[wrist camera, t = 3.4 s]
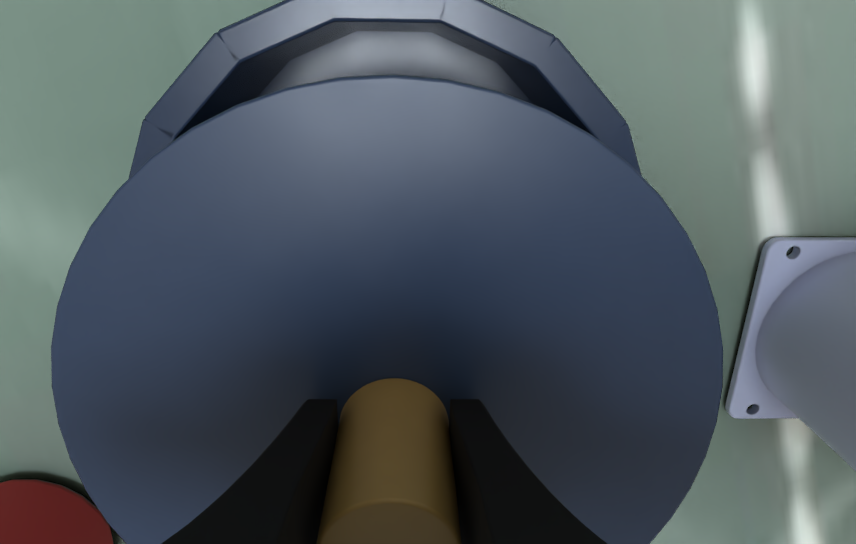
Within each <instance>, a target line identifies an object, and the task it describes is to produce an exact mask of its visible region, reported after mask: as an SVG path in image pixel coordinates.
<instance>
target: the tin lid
mask: <svg viewBox="0 0 856 544" xmlns="http://www.w3.org/2000/svg"><path fill="white" fill-rule="evenodd" d="M51 361H52V389H53V395H54V401H55V407H56V412H57V418H58V424H59V427H60V430H61V433H62V436H63V439H64V442H65V445H66V448H67V451H68V454H69V457H70V459H71V461H72V463H73V465H74V467H75V469H76V471H77V473H78V475H79V477H80V479H81V481H82V483H83V485H84V487H85V489H86V491H87V493H88V495H89V496H90V497H91V499H92V500H93V502H94V503H95V505H96V506H97V508H98V509H99V511H100V512H101V514H102V515H103V516H104V518H105V519H106V521H107V522H108V524H109V525H110V526H111V527H112V528H113V529H114V530H115V531H116V533H117V534H118V535H119V536H120V537H121V538H122V539H123V540H124V542H125V543H126V544H161V543H163V542H164V541H166V540H167V539H168V538H170V537H171V536H172V535H174V534H175V533H177V532H178V531H179V530H181V529H182V528H183V527H185V526H186V525H187V524H188V523H190V522H191V521H192V520H193V519H194V518H196V517H197V516H198V515H199V514H200V513H202V512H203V511H204V510H205V509H206V508H207V507H209V506H210V505H211V504H212V503H213V502H214V501H215V500H216V499H217V498H219V497H220V496H221V495H222V494H223V493H224V492H225V491H226V490H227V489H228V488H229V487H230V486H231V485H232V484H233V483H234V482H235V481H236V480H237V479H238V478H239V477H240V476H241V475H242V474H243V473H244V472H245V471H246V470H247V469H248V468H249V467H250V466H251V465H252V464H253V463H254V462H255V461H256V460H257V459H258V457H259V456H260V455H261V454H262V453H263V452H264V451H265V449H266V448H267V447H268V446H269V445H270V444H271V443H272V442H273V440H274V439H275V438H276V437H277V436H278V435H279V433H280V432H281V431H282V430H283V429H284V427H285V426H286V425H287V424H288V422H289V421H290V420H291V419H292V417H293V416H294V415H295V414H296V412H297V411H298V410H299V408H300V407H301V406H302V404H303V403H304V402H306V401H307V400H308V399H337V413H338V432H337V437H336V442H335V448H334V453H333V458H332V463H331V469H330V474H329V479H328V484H327V490H326V495H325V500H324V506H323V511H322V516H321V521H320V527H319V532H318V537H317V543H316V544H462V542H461V532H460V523H459V514H458V504H457V495H456V486H455V476H454V468H453V461H452V452H451V442H450V433H449V418H450V399H479V400H480V401H481V402H482V403H483V404H484V406H485V407H486V409H487V411H488V412H489V414H490V415H491V417H492V419H493V420H494V422H495V423H496V425H497V426H498V428H499V429H500V430H501V432H502V433H503V435H504V436H505V437H506V439H507V440H508V442H509V443H510V444H511V446H512V447H513V448H514V449H515V451H516V452H517V453H518V455H519V456H520V457H521V458H522V460H523V461H524V462H525V463H526V465H527V466H528V467H529V468H530V469H531V471H532V472H533V473H534V474H535V475H536V476H537V478H538V479H539V480H540V481H541V482H542V483H543V484H544V485H545V486H546V488H547V489H548V490H549V491H550V492H551V493H552V494H553V495H554V496H555V497H556V498H557V499H558V500H559V501H560V502H561V503H562V504H563V505H564V506H565V507H566V508H567V509H568V510H569V511H570V512H571V513H572V514H573V515H574V516H575V517H576V518H577V519H578V520H580V521H581V522H582V523H583V524H584V525H585V526H586V527H588V528H589V529H590V530H591V531H592V532H593V533H595V534H596V535H597V536H598V537H600V538H601V539H602V540H604V541H605V542H606V543H607V544H650V543H651V541H652V540H653V539H654V538H655V537H656V535H657V534H658V533H659V532H660V531H661V530H662V528H663V527H664V526H665V525H666V524H667V522H668V521H669V520H670V519H671V517H672V516H673V514H674V513H675V511H676V510H677V508H678V507H679V505H680V504H681V502H682V501H683V499H684V498H685V496H686V494H687V493H688V491H689V490H690V488H691V486H692V484H693V482H694V480H695V478H696V476H697V474H698V471H699V469H700V467H701V465H702V463H703V461H704V459H705V457H706V454H707V451H708V447H709V444H710V441H711V438H712V435H713V432H714V429H715V425H716V422H717V416H718V410H719V404H720V398H721V392H722V379H723V346H722V339H721V332H720V325H719V318H718V311H717V307H716V304H715V300H714V297H713V294H712V291H711V287H710V284H709V281H708V278H707V274H706V271H705V269H704V267H703V265H702V263H701V261H700V259H699V257H698V255H697V253H696V251H695V249H694V247H693V245H692V242H691V240H690V238H689V236H688V234H687V233H686V231H685V230H684V228H683V227H682V225H681V224H680V223H679V221H678V220H677V218H676V217H675V215H674V214H673V213H672V211H671V210H670V208H669V207H668V206H667V204H666V203H665V201H664V200H663V198H662V197H661V196H660V195H659V194H658V193H657V192H656V191H655V190H654V189H653V188H652V187H651V186H650V185H649V184H648V182H647V181H646V180H645V179H644V178H643V177H642V176H641V175H640V174H639V173H638V172H637V171H636V170H635V169H634V168H633V167H632V166H631V165H630V164H629V163H628V162H626V161H625V160H624V159H623V158H621V157H620V156H619V155H617V154H616V153H615V152H613V151H612V150H611V149H610V148H608V147H607V146H606V145H604V144H603V143H602V142H600V141H599V140H598V139H597V138H595V137H594V136H593V135H591V134H589V133H588V132H586V131H584V130H582V129H581V128H579V127H577V126H575V125H573V124H572V123H570V122H568V121H566V120H564V119H563V118H561V117H559V116H557V115H556V114H554V113H552V112H550V111H548V110H546V109H544V108H541V107H538V106H536V105H533V104H531V103H528V102H525V101H523V100H520V99H518V98H515V97H512V96H510V95H507V94H505V93H502V92H500V91H497V90H493V89H488V88H484V87H480V86H475V85H471V84H467V83H463V82H458V81H454V80H450V79H443V78H432V77H421V76H410V75H399V74H387V75H366V76H346V77H338V78H333V79H327V80H322V81H317V82H312V83H306V84H301V85H296V86H291V87H287V88H284V89H281V90H278V91H275V92H273V93H270V94H267V95H264V96H261V97H258V98H255V99H252V100H249V101H246V102H243V103H240V104H237V105H235V106H233V107H231V108H229V109H228V110H226V111H224V112H222V113H220V114H218V115H216V116H214V117H212V118H210V119H208V120H206V121H204V122H202V123H200V124H198V125H196V126H194V127H192V128H191V129H189V130H188V131H187V132H185V133H184V134H182V135H181V136H180V137H178V138H177V139H175V140H174V141H173V142H171V143H170V144H168V145H167V146H166V147H164V148H163V149H162V150H160V151H159V152H157V153H156V154H155V155H153V156H152V157H151V158H150V159H149V160H148V161H146V162H145V163H144V164H143V165H142V166H141V167H140V168H139V169H138V170H137V171H136V172H135V173H134V174H133V175H132V176H131V177H130V178H129V179H128V180H127V181H126V182H125V183H124V184H123V185H122V186H121V187H120V188H119V189H118V190H117V191H116V193H115V194H114V195H113V197H112V198H111V199H110V201H109V202H108V203H107V205H106V206H105V207H104V209H103V210H102V212H101V213H100V214H99V216H98V217H97V218H96V220H95V221H94V222H93V224H92V225H91V226H90V228H89V230H88V232H87V234H86V236H85V238H84V240H83V242H82V244H81V246H80V248H79V250H78V252H77V254H76V255H75V257H74V259H73V261H72V263H71V265H70V268H69V271H68V274H67V277H66V281H65V284H64V287H63V290H62V293H61V296H60V299H59V302H58V306H57V311H56V318H55V325H54V332H53V338H52V345H51Z"/></svg>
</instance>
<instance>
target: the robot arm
mask: <svg viewBox="0 0 856 544" xmlns="http://www.w3.org/2000/svg"><path fill="white" fill-rule="evenodd" d="M793 246H794V250H793V252H792V253H791V254H789V255H787V256H786V253H787V251H788V249H789V248H791V247H793ZM752 404H754V405H753V406H752V407H751V408H750V409H747V408H748V407H749V406H750V405H752ZM725 409H726V411H727V412H728V413H729V415H730V416H732V417H733V418H737V419H769V418H799V419H800V420H801V421H803V422H804V423H805V424H806V425H807V426H808V427H809V428H810V429H811V430H812V431H813V432H814V433H815V434H816V435H818V436H819V437H820V438H821V439H822V440H823V441H824V442H825V443H826V444H827V445H828V446H829V447H830V448H831V449H833V450H834V451H835V452H836V453H837V454H838V455H839V456H840V457H841V458H842V459H843V460H844V461H845V462H846V463H847V464H849V465H850V466H851V467H852V468H853V469H854V470H855V471H856V237H777V238H772V239H770V240H769V241H767V242H766V244H765V245H764V247H763V249H762V252H761V257H760V261H759V265H758V269H757V273H756V278H755V282H754V286H753V290H752V295H751V299H750V303H749V307H748V311H747V316H746V320H745V324H744V328H743V333H742V337H741V341H740V345H739V350H738V354H737V358H736V362H735V366H734V371H733V375H732V379H731V383H730V388H729V392H728V396H727V400H726V404H725ZM337 432H338V413H337V399H308V400H307V401H306V402H304V403H303V404H302V406H301V407H300V408H299V410H298V411H297V412H296V414H295V415H294V416H293V417H292V419H291V420H290V421H289V422H288V424H287V425H286V426H285V427H284V429H283V430H282V431H281V432H280V433H279V435H278V436H277V437H276V438H275V439H274V440H273V442H272V443H271V444H270V445H269V446H268V447H267V448H266V449H265V451H264V452H263V453H262V454H261V455H260V456H259V457H258V459H257V460H256V461H255V462H254V463H253V464H252V465H251V466H250V467H249V468H248V469H247V470H246V471H245V472H244V473H243V474H242V475H241V476H240V477H239V478H238V479H237V480H236V481H235V482H234V483H233V484H232V485H231V486H230V487H229V488H228V489H227V490H226V491H225V492H224V493H223V494H222V495H221V496H220V497H219V498H217V499H216V500H215V501H214V502H213V503H212V504H211V505H210V506H209V507H207V508H206V509H205V510H204V511H203V512H202V513H200V514H199V515H198V516H197V517H196V518H194V519H193V520H192V521H191V522H190V523H188V524H187V525H186V526H185V527H183V528H182V529H181V530H179V531H178V532H177V533H175V534H174V535H172V536H171V537H170V538H168V539H167V540H166V541H164V542H163V543H161V544H316V543H317V537H318V532H319V527H320V521H321V516H322V511H323V506H324V500H325V495H326V490H327V484H328V479H329V474H330V469H331V463H332V458H333V453H334V448H335V442H336V437H337ZM449 433H450V442H451V452H452V461H453V468H454V476H455V486H456V495H457V504H458V514H459V523H460V532H461V542H462V544H607V543H606V542H605V541H604V540H602V539H601V538H600V537H598V536H597V535H596V534H595V533H593V532H592V531H591V530H590V529H589V528H588V527H586V526H585V525H584V524H583V523H582V522H581V521H580V520H578V519H577V518H576V517H575V516H574V515H573V514H572V513H571V512H570V511H569V510H568V509H567V508H566V507H565V506H564V505H563V504H562V503H561V502H560V501H559V500H558V499H557V498H556V497H555V496H554V495H553V494H552V493H551V492H550V491H549V490H548V489H547V488H546V486H545V485H544V484H543V483H542V482H541V481H540V480H539V479H538V478H537V476H536V475H535V474H534V473H533V472H532V471H531V469H530V468H529V467H528V466H527V465H526V463H525V462H524V461H523V460H522V458H521V457H520V456H519V455H518V453H517V452H516V451H515V449H514V448H513V447H512V446H511V444H510V443H509V442H508V440H507V439H506V437H505V436H504V435H503V433H502V432H501V430H500V429H499V428H498V426H497V425H496V423H495V422H494V420H493V419H492V417H491V415H490V414H489V412H488V411H487V409H486V407H485V406H484V404H483V403H482V402H481V401H480V400H479V399H450V418H449Z"/></svg>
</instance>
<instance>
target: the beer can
mask: <svg viewBox="0 0 856 544" xmlns="http://www.w3.org/2000/svg"><path fill="white" fill-rule="evenodd" d="M0 544H114V543H113V538H112V534H111V529H110V526H109V524H108V523H107V521H106V520H105V518H104V516H103V515H102V514H101V512H100V511H99V509H98V508H97V507H96V506H95V505H93V504H92V503H91V502H90V501H89V500H88V499H86V498H85V497H84V496H83V495H81V494H79V493H77V492H75V491H73V490H71V489H69V488H67V487H65V486H63V485H60V484H56V483H52V482H47V481H43V480H39V479H15V480H9V481H5V482H2V483H0Z"/></svg>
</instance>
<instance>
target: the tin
mask: <svg viewBox="0 0 856 544" xmlns="http://www.w3.org/2000/svg"><path fill="white" fill-rule="evenodd" d="M387 74H399V75H410V76H421V77H432V78H443V79H450V80H454V81H458V82H463V83H467V84H471V85H475V86H480V87H484V88H488V89H493V90H497V91H500V92H502V93H505V94H507V95H510V96H512V97H515V98H518V99H520V100H523V101H525V102H528V103H531V104H533V105H536V106H538V107H541V108H544V109H546V110H548V111H550V112H552V113H554V114H556V115H557V116H559V117H561V118H563V119H564V120H566V121H568V122H570V123H572V124H573V125H575V126H577V127H579V128H581V129H582V130H584V131H586V132H588V133H589V134H591V135H593V136H594V137H595V138H597V139H598V140H599V141H600V142H602V143H603V144H604V145H606V146H607V147H608V148H610V149H611V150H612V151H613V152H615V153H616V154H617V155H619V156H620V157H621V158H623V159H624V160H625V161H626V162H628V163H629V164H630V165H631V166H632V167H633V168H634V169H635V170H636V171H637V172H638V173H639V174H640V175H641V172H640V168H639V165H638V161H637V157H636V153H635V149H634V145H633V142H632V138H631V134H630V130H629V126H628V124H627V123H626V120H625V119H624V118H623V117H622V116H621V114H620V113H619V112H618V111H617V109H616V108H615V107H614V106H613V105H612V103H611V102H610V101H609V100H608V98H607V97H606V96H605V95H604V94H603V92H602V91H601V90H600V89H599V87H598V86H597V85H596V84H595V83H594V81H593V80H592V79H591V78H590V76H589V75H588V74H587V73H586V72H585V70H584V69H583V68H582V67H581V65H580V64H579V63H578V62H577V61H576V59H575V58H574V57H573V56H572V55H571V53H570V52H569V51H568V50H567V48H566V47H565V46H564V45H563V44H562V42H561V41H560V40H559V39H558V38H555V36H554V35H553V34H551V33H549V32H547V31H545V30H543V29H541V28H539V27H537V26H535V25H533V24H530V23H528V22H526V21H524V20H522V19H520V18H518V17H516V16H514V15H512V14H510V13H508V12H506V11H504V10H502V9H500V8H498V7H495V6H493V5H491V4H489V3H487V2H485V1H483V0H284V1H282V2H280V3H278V4H276V5H273V6H271V7H269V8H267V9H264V10H262V11H260V12H258V13H256V14H253V15H251V16H249V17H247V18H245V19H242V20H240V21H238V22H236V23H233V24H231V25H229V26H227V27H225V28H222V29H220V30H219V31H218V33H214V34H213V36H212V37H211V38H210V39H209V40H208V42H207V43H206V44H205V45H204V46H203V48H202V49H201V50H200V51H199V53H198V54H197V55H196V56H195V57H194V59H193V60H192V61H191V62H190V63H189V65H188V66H187V67H186V68H185V69H184V71H183V72H182V73H181V74H180V75H179V77H178V78H177V79H176V80H175V81H174V83H173V84H172V85H171V86H170V87H169V89H168V90H167V91H166V92H165V93H164V95H163V96H162V97H161V98H160V99H159V101H158V102H157V103H156V104H155V105H154V107H153V108H152V109H151V110H150V111H149V113H148V114H147V115H146V116H145V119H144V120H143V122H142V126H141V131H140V135H139V139H138V143H137V147H136V151H135V155H134V159H133V163H132V167H131V171H130V175H129V178H130V177H131V176H132V175H133V174H134V173H135V172H136V171H137V170H138V169H139V168H140V167H141V166H142V165H143V164H144V163H145V162H146V161H148V160H149V159H150V158H151V157H152V156H153V155H155V154H156V153H157V152H159V151H160V150H162V149H163V148H164V147H166V146H167V145H168V144H170V143H171V142H173V141H174V140H175V139H177V138H178V137H180V136H181V135H182V134H184V133H185V132H187V131H188V130H189V129H191V128H192V127H194V126H196V125H198V124H200V123H202V122H204V121H206V120H208V119H210V118H212V117H214V116H216V115H218V114H220V113H222V112H224V111H226V110H228V109H229V108H231V107H233V106H235V105H237V104H240V103H243V102H246V101H249V100H252V99H255V98H258V97H261V96H264V95H267V94H270V93H273V92H275V91H278V90H281V89H284V88H287V87H291V86H296V85H301V84H306V83H312V82H317V81H322V80H327V79H333V78H338V77H346V76H366V75H387Z"/></svg>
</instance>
